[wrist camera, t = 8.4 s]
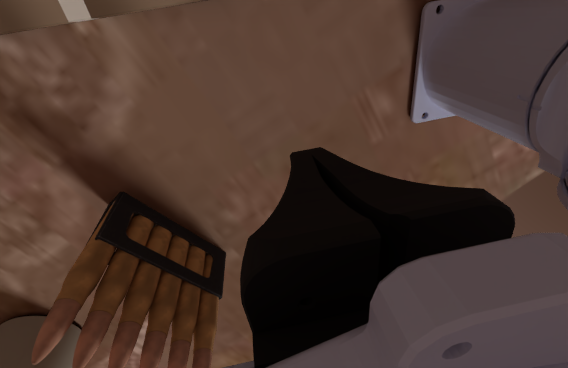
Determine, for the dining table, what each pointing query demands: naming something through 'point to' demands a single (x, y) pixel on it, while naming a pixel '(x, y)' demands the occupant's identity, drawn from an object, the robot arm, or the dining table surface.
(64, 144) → the dining table surface
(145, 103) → the dining table surface
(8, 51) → the dining table surface
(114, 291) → the ammunition clip
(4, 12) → the subfloor panel
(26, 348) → the travel mug
